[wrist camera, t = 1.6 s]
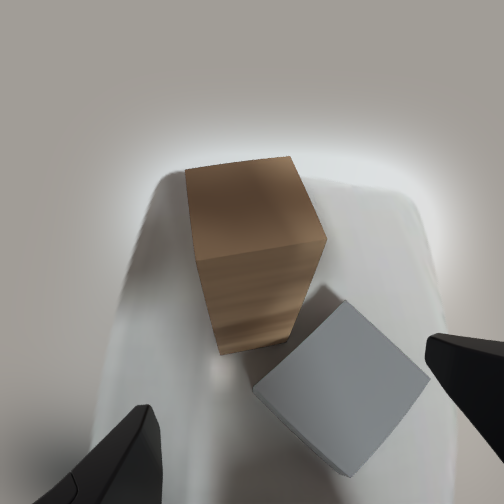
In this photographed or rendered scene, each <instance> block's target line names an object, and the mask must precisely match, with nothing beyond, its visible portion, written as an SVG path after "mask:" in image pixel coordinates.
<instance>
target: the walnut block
mask: <svg viewBox="0 0 504 504" xmlns="http://www.w3.org/2000/svg"><path fill="white" fill-rule="evenodd" d="M185 176H186V185H187V195H188V204H189V212H190V221H191V229H192V237H193V244H194V252H195V259H196V264H197V268H198V273H199V277H200V281H201V285H202V289H203V293H204V297H205V301H206V305H207V308H208V312H209V316H210V320H211V324H212V327H213V331H214V335H215V338H216V342H217V346H218V349H219V353H220V355H224V354H230V353H235V352H241V351H246V350H251V349H256V348H261V347H266V346H271V345H275V344H280V343H285V342H287V340H288V338H289V335H290V333H291V330H292V328H293V326H294V323H295V321H296V318H297V316H298V314H299V311H300V309H301V306H302V304H303V301H304V299H305V296H306V294H307V291H308V289H309V286H310V283H311V281H312V278H313V276H314V273H315V271H316V268H317V265H318V263H319V260H320V257H321V255H322V252H323V249H324V247H325V244H326V241H327V237H326V235H325V233H324V230H323V228H322V225H321V223H320V221H319V219H318V216H317V214H316V212H315V209H314V207H313V205H312V203H311V200H310V198H309V196H308V194H307V192H306V189H305V187H304V185H303V183H302V181H301V178H300V176H299V174H298V172H297V170H296V168H295V166H294V164H293V161H292V159H291V157H290V156H287V157H277V158H268V159H258V160H249V161H241V162H233V163H226V164H219V165H212V166H205V167H199V168H192V169H186V170H185Z"/></svg>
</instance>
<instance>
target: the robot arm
mask: <svg viewBox="0 0 504 504" xmlns="http://www.w3.org/2000/svg"><path fill="white" fill-rule="evenodd" d="M425 362H426V364H427V365H428V367H429V368H430V370H431V371H432V373H433V374H434V375H435V377H436V378H437V380H438V381H439V383H440V384H441V386H442V387H443V389H444V390H445V391H446V393H447V394H448V395H449V397H450V398H451V399H452V400H453V401H454V403H455V404H456V405H457V406H458V407H459V409H460V410H461V411H462V412H463V413H464V414H465V416H466V417H467V418H468V419H469V420H470V422H471V423H472V424H473V425H474V427H475V428H476V429H477V430H478V432H479V433H480V434H481V435H482V437H483V438H484V439H485V440H486V442H487V443H488V444H489V445H490V447H491V448H492V449H493V450H494V452H495V453H496V454H497V455H498V457H499V458H500V459H501V461H502V462H503V463H504V342H500V341H492V340H484V339H477V338H470V337H462V336H455V335H449V334H442V333H436V334H434V335H431V336H429V337H428V339H427V343H426V351H425ZM162 482H163V467H162V452H161V435H160V427H159V424H158V421H157V419H156V416H155V414H154V411H153V409H152V407H151V406H150V405H149V404H146V405H137V406H135V407H134V408H133V409H132V410H131V411H130V412H129V413H128V414H127V416H126V417H125V418H124V419H123V420H122V421H121V422H120V423H119V424H118V425H117V426H116V427H115V428H114V429H113V430H112V431H111V432H110V433H109V434H108V435H107V436H106V437H105V438H104V439H103V440H102V441H101V442H100V443H99V444H98V445H97V446H96V447H95V448H94V449H93V450H91V451H90V452H89V453H88V454H87V455H86V456H85V457H84V458H83V459H82V461H80V462H79V463H78V464H77V465H76V466H75V467H74V468H73V469H72V470H71V472H69V473H68V474H67V475H66V476H65V477H64V478H63V479H62V480H61V481H59V483H57V484H56V485H55V486H54V487H53V488H52V489H51V490H49V491H48V492H47V493H46V494H45V495H43V496H42V497H41V498H39V499H38V500H37V501H35V502H34V503H33V504H162Z"/></svg>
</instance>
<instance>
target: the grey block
mask: <svg viewBox="0 0 504 504" xmlns="http://www.w3.org/2000/svg"><path fill="white" fill-rule="evenodd" d="M429 381H430V378H429V377H428V376H427V375H426V374H425V373H424V372H423V371H422V370H421V369H420V368H419V367H418V366H417V365H416V364H415V363H414V362H413V361H411V360H410V359H409V358H408V357H407V356H406V355H405V354H404V353H403V352H402V351H401V350H400V349H399V348H398V347H396V346H395V345H394V344H393V343H392V342H391V341H390V340H389V339H388V338H387V337H386V336H385V335H384V334H382V333H381V332H380V331H379V330H378V329H377V328H376V327H375V326H374V325H373V324H372V323H370V322H369V321H368V320H367V319H366V318H365V317H364V316H363V315H362V314H361V313H360V312H358V311H357V310H356V309H355V308H354V307H353V306H352V305H351V304H350V303H349V302H347V301H346V300H345V301H344V302H343V303H342V304H341V305H340V306H339V307H338V308H337V309H336V310H335V311H334V312H333V313H332V314H331V315H330V316H329V317H328V318H327V319H326V320H325V321H324V322H323V323H322V324H321V325H320V326H319V327H318V328H317V329H316V330H315V331H314V332H313V333H312V334H310V335H309V336H308V337H307V338H306V339H305V340H304V341H303V342H302V343H301V344H300V345H299V346H298V347H297V348H296V349H295V350H294V351H292V352H291V353H290V354H289V355H288V356H287V357H286V358H285V359H284V360H283V361H282V362H280V363H279V364H278V365H277V366H276V367H275V368H274V369H273V370H272V371H270V372H269V373H268V374H267V375H266V376H265V377H264V378H262V379H261V380H260V381H259V382H258V383H257V384H255V385H254V386H253V391H252V392H253V393H254V394H255V395H256V396H257V397H258V398H259V399H260V400H261V401H262V402H263V403H264V404H265V405H266V406H267V407H268V408H269V409H270V410H271V411H272V412H273V413H274V414H275V415H276V416H277V417H278V418H279V419H280V420H281V421H282V422H283V423H284V424H285V425H286V426H287V427H288V428H289V429H290V430H291V431H292V432H294V433H295V434H296V435H297V436H298V437H299V438H300V439H301V440H302V441H303V442H304V443H305V444H306V445H307V446H308V447H310V448H311V449H312V450H313V451H314V452H315V453H316V454H317V455H318V456H319V457H321V458H322V459H323V460H324V461H325V462H326V463H327V464H329V465H330V466H331V467H332V468H333V469H334V470H335V471H337V472H338V473H339V474H341V475H344V476H347V477H350V478H351V477H352V476H353V475H354V474H355V473H356V472H357V471H358V470H359V469H360V468H361V467H362V466H363V465H364V463H365V462H366V461H367V460H368V459H369V458H370V457H371V456H372V455H373V454H374V452H375V451H376V450H377V449H378V448H379V447H380V446H381V444H382V443H383V442H384V441H385V440H386V438H387V437H388V436H389V435H390V434H391V432H392V431H393V430H394V429H395V427H396V426H397V425H398V424H399V422H400V421H401V420H402V418H403V417H404V416H405V415H406V413H407V412H408V411H409V409H410V408H411V407H412V405H413V404H414V402H415V401H416V400H417V398H418V397H419V395H420V394H421V393H422V391H423V390H424V388H425V387H426V385H427V384H428V382H429Z"/></svg>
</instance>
